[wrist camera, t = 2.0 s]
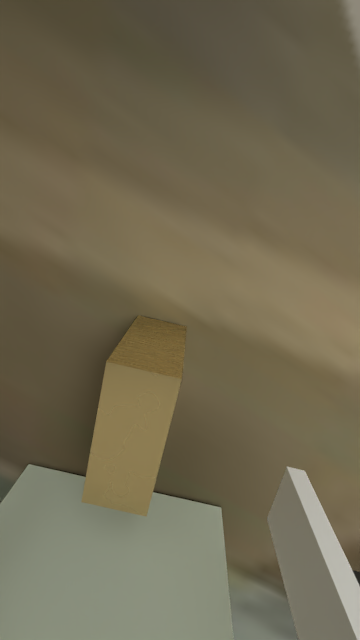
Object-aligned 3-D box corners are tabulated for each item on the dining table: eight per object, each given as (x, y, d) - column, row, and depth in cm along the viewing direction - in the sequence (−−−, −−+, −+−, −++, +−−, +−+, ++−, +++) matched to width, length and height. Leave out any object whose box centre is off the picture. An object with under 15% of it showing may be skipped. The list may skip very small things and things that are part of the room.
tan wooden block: (138, 315, 19) (106, 361, 12) (186, 326, 19) (181, 379, 12) (118, 414, 21) (81, 502, 14) (162, 424, 21) (146, 516, 14)
